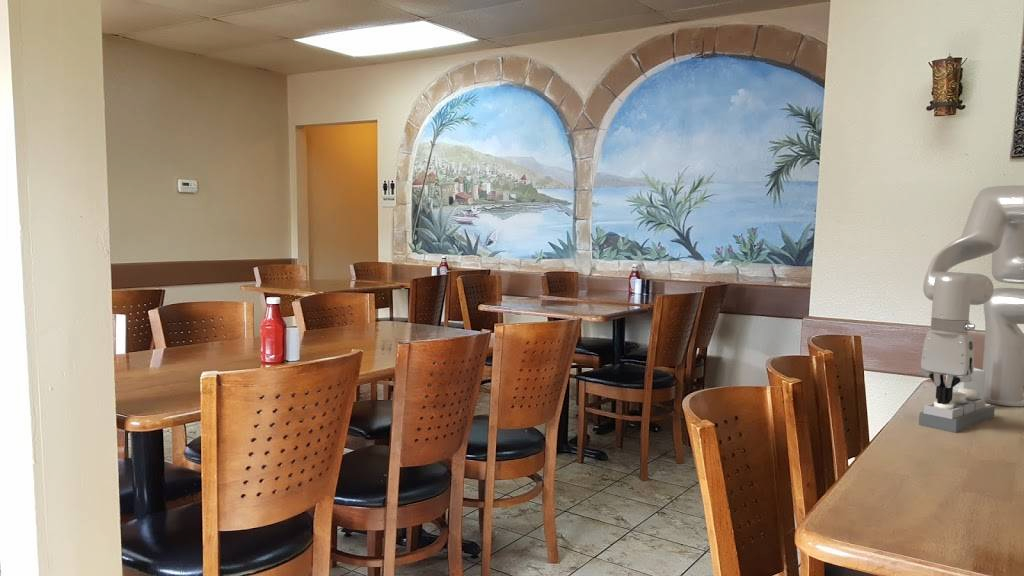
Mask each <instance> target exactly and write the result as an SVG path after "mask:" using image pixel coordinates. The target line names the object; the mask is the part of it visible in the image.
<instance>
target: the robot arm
mask: <svg viewBox="0 0 1024 576" xmlns="http://www.w3.org/2000/svg"><path fill="white" fill-rule="evenodd" d="M990 254H991V275H992V277H993V280H995V281H997V282H1000V283H1004V284H1005V283H1006V284H1013V285H1014V284H1018V285H1024V185H997V186H989V187H985V188H983V189H981V190H980V191H979V193H978V195H977V196H976V197H975V199H974V201H973V204H972V205H971V209H970V212H969V215H968V216H967V220H966V223H965V225H964V228H963V231H962V235H961V236H959V237H958V238H957V239H955V240H953V241H951V242H950V243H949V244H947V245H945V246H944V247H943V248H942V249H940V250H939V251H938V252H937V253H936V254H935V255H934V257H933V258H932V259H931V261H930V263H929V265H928V268H927V272H926V274H925V276H924V281H923V286H922V288H923V294H924V296H925V297H926V298H927V299H928V300H929V301H932V305H931V306H932V307H931V319H930V329H928V330H927V332H926V335H925V338H924V341H923V346H922V352H921V359H920V367H921V369H920V375H922V376H925V377H927V378H930V380H931V381H932V382H933V384H934V386H936V391H935V399H936V401H937V403H942V404H948V403H950V401H951V400H952V394H953V387H954V386H955V385H957V384H958V383H960V382H970V381H972V378H971V374H972V373H973V371H974V368H975V351H974V350H975V349H974V338H973V334H971V333H969V331H975V329H976V324H974V323H971V321H970V308H971V306H979V305H983V312H984V323H985V324H984V327H985V328H984V346H983V347H984V348H983V358H982V360H983V361H982V370H984V371H985V382H984V398H983V399H986V401H985V404H991V405H999V406H1007V407H1024V397H1023V395H1024V394H1023V392H1024V391H1023V390H1024V332H1023V330H1022V329H1021V328H1020V327H1019V326H1018V325H1024V288H1021V287H1019V288H1018V287H997V288H994V284H993V281H992V280H991V279H990V277H988V276H986V275H984V274H981V273H969V272H956V271H954V272H953V271H949V270H950V269H952V268H953V267H955V266H957V265H959V264H961V263H965V262H967V261H970V260H971V261H972V260H975V259H978V258H981V257H985V256H988V255H990ZM945 375H948V376H947V380H946V379H945ZM958 376H960V377H958ZM961 376H963V377H961Z"/></svg>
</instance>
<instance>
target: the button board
mask: <svg viewBox="0 0 1024 576" xmlns="http://www.w3.org/2000/svg"><path fill="white" fill-rule="evenodd" d="M985 401H986V399H981V398H976V399H975V400H970V399H966V400H965V403H953V404H954V407H953V409H952V410H949V409H944V408H939V407H934V401H933V402H930V403H927V404H923V410H922V411H920V412H919V418H918V425H919V426H922V427H927V428H933V429H937V430H941V431H942V430H943V431H947V432H951V433H955V434H956V433H958V432H961V431H963V430H967V429H968V428H971V427H973V426H976V425H979V424H981V423H984V422H986V421H989V420H991V419H994V418H995V412H996V411H995V409H996V406H995V405H994V404H991V403H986V402H985ZM950 403H952V402H950Z"/></svg>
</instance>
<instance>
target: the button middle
mask: <svg viewBox="0 0 1024 576" xmlns="http://www.w3.org/2000/svg"><path fill="white" fill-rule="evenodd" d="M965 400H966V394H964V393H961V392H953V394H952V400H951V401H950V402H952V403H965Z"/></svg>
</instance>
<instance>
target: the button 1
mask: <svg viewBox="0 0 1024 576" xmlns="http://www.w3.org/2000/svg"><path fill="white" fill-rule="evenodd" d="M933 402H934V407H939V408H944V409H949V410H952V409H953V407H954V404H953V403H948V404H942V403H937V400H935V401H933Z"/></svg>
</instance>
